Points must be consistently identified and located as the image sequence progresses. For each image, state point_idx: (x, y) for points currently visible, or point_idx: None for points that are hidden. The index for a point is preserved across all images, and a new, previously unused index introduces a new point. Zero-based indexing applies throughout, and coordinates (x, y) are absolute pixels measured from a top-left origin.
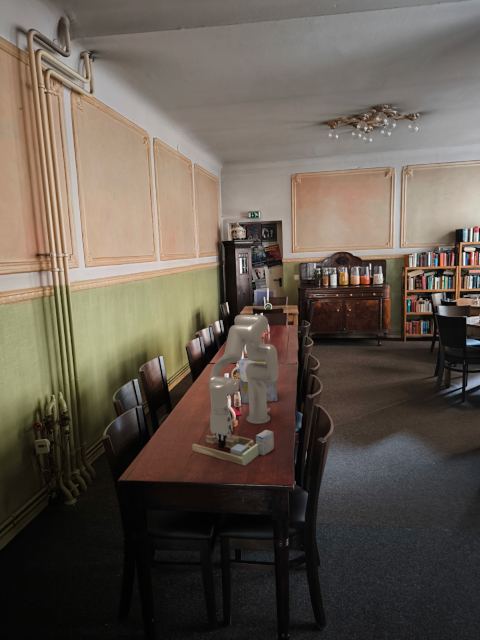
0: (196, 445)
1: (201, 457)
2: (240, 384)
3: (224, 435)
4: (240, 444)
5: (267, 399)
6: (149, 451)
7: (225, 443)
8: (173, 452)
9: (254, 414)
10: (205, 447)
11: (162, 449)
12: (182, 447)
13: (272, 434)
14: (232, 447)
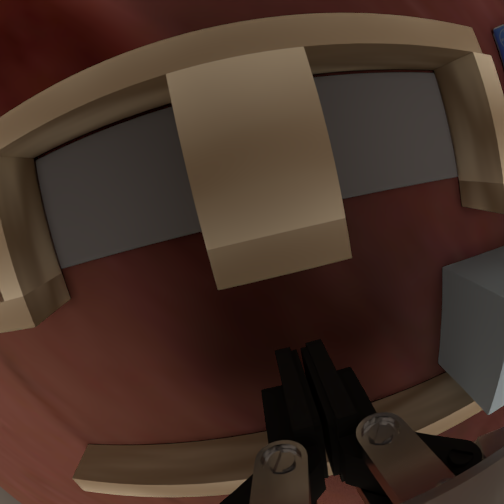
0: (114, 491)
1: None
2: None
3: (389, 473)
4: (330, 94)
5: None
6: (23, 501)
7: (357, 381)
8: (68, 493)
9: None
10: (200, 489)
11: (20, 482)
12: (29, 446)
13: None
14: (496, 391)
